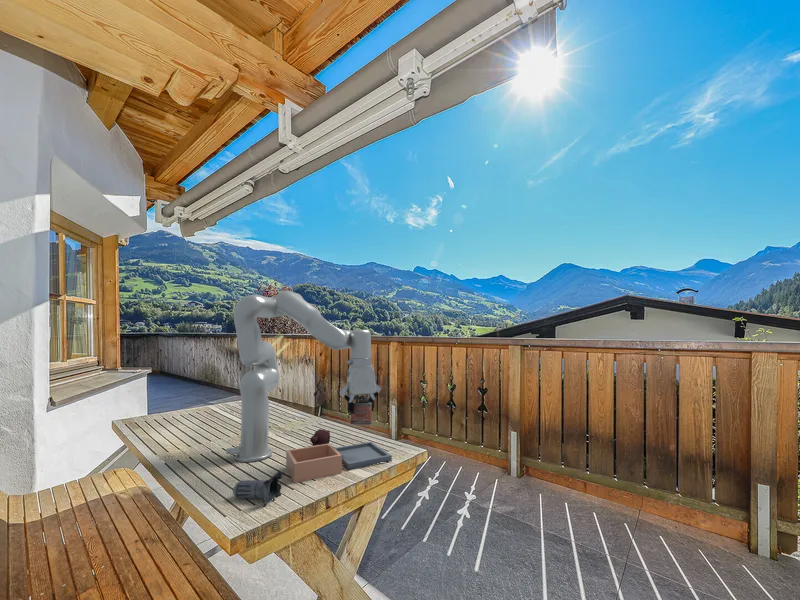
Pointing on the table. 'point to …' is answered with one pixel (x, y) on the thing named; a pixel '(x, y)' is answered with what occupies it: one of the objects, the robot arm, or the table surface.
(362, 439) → the table surface
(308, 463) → the pink open box
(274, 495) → the dark blue piece
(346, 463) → the tray
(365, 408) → the lighter
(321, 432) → the icecream
